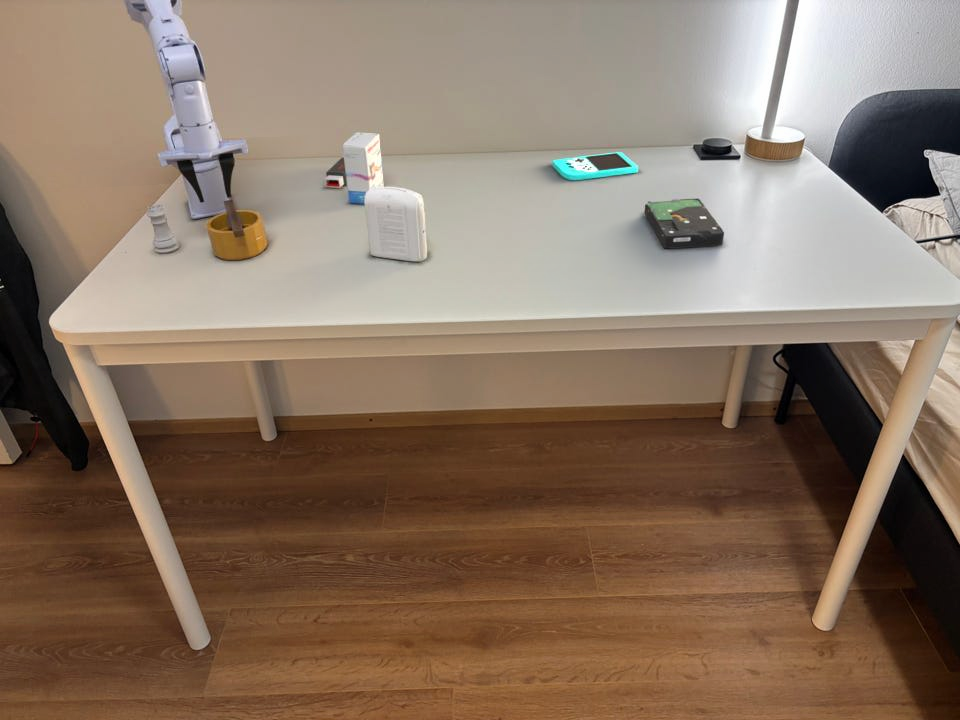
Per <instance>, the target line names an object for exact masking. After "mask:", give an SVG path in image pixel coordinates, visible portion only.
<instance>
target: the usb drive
mask: <svg viewBox="0 0 960 720" xmlns="http://www.w3.org/2000/svg"><path fill="white" fill-rule="evenodd" d="M325 176H326V177H325V178H324V187H325V188H337V189H341V188H342V187H343V186H347V179H346V172H345V164H344V157H341V158H340V159H338V161H336V162H335V163H334V164H333V165H332V166H331V167H330V168H329V169H328V170H327V171H326V172H325Z"/></svg>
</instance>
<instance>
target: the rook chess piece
mask: <svg viewBox="0 0 960 720" xmlns="http://www.w3.org/2000/svg"><path fill="white" fill-rule="evenodd" d="M166 213H167V210H166V209H165V208H164V206H163V205H162V204H161V205H160V204H156V206H155V205H154V204H153V205H151V206H148V207H147V212H146V216H147V217H148V218H149V219H150V224H152V228H153V241H152V245H153V247H154V248H153V250H154V251H155V252H156V253H157V254H161V255H166V254H172V253H174V252H176V251H177V250H179V248H180V246H181V245H180V242H179V239H178V237H177V236H176V235H175V234H174V233H173V232H172V230H171V229H170V227H169V224H168V218H167V217H166Z"/></svg>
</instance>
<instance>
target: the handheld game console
mask: <svg viewBox="0 0 960 720" xmlns="http://www.w3.org/2000/svg"><path fill="white" fill-rule="evenodd" d="M551 165H552V167H553V168H554V169H555V170H556V172H558V174H559V175H560V176H561V177H562V178H564V179H566V180H569V181H581V180H589V179H597V178H604V177H606V178H607V177H613V176H620V175H627V174H635V173H636V174H637V173H638V172H639V166H638V165H637V164H636V163H634V162H633V161H632V160H631V159H630V158H629V157H627V156H626V154H624V153H623V152H621V151H617V152H609V153H601V154H592V155H584V156H576V157H575V156H574V157H567V158H560V159H552V164H551Z"/></svg>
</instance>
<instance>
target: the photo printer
mask: <svg viewBox="0 0 960 720" xmlns="http://www.w3.org/2000/svg"><path fill="white" fill-rule="evenodd" d="M363 205H364V213H365V219H366V220H365V222H366V229H367V238H368V246H369V254H370V255H371V256H373V257H378V258H384V259H393V260H399V261H404V262H405V261H406V262H407V261H408V262H415V263H416V262H417V263H418V262H423V261H425V260H426V259H427V258H428V245H427V230H426V229H427V228H426V218H425V217H426V215H425V203H424V198H423V195H421V194H420V193H418V192H416V191H413V190H411V189H408V188H404V187H398V186H384V187H376V188H372V189H369V191H367V192H366V194H365V201H364V204H363Z"/></svg>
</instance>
